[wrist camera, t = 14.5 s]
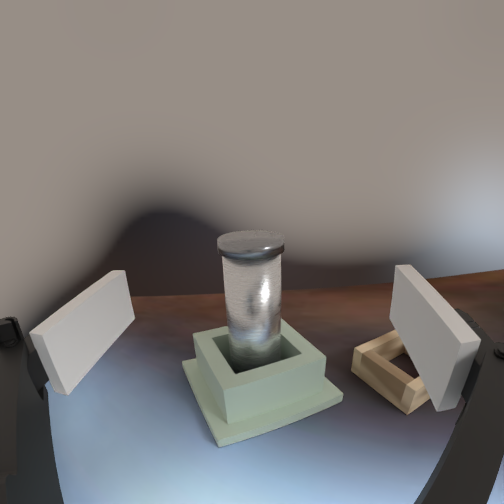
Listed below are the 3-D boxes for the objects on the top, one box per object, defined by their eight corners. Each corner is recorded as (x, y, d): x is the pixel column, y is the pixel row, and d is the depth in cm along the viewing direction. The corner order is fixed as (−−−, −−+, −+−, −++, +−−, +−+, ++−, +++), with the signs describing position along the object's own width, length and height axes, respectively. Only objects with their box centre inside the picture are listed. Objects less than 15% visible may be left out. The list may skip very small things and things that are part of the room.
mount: (403, 344, 33) (407, 323, 32) (456, 377, 25) (464, 354, 25) (350, 370, 30) (354, 347, 29) (407, 415, 22) (415, 391, 21)
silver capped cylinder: (268, 366, 32) (266, 227, 28) (293, 394, 27) (297, 240, 23) (223, 379, 30) (209, 235, 26) (242, 411, 25) (230, 250, 21)
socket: (281, 343, 36) (281, 306, 35) (342, 401, 26) (349, 359, 24) (183, 368, 32) (176, 329, 30) (218, 447, 21) (211, 406, 20)
